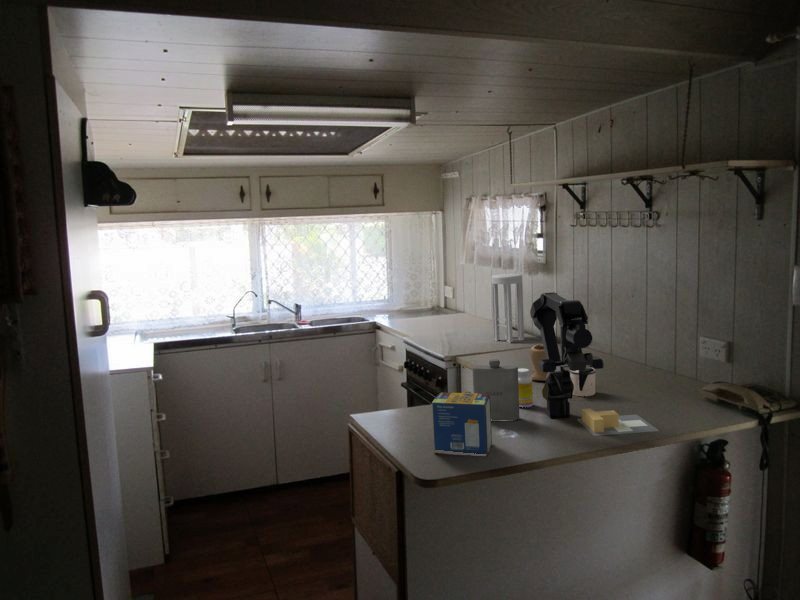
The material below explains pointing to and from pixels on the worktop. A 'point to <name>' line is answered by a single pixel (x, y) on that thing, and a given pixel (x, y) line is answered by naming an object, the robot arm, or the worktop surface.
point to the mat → (625, 426)
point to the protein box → (462, 422)
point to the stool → (507, 305)
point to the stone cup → (536, 356)
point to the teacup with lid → (588, 386)
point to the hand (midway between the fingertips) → (571, 391)
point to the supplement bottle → (525, 388)
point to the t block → (600, 419)
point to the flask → (498, 388)
